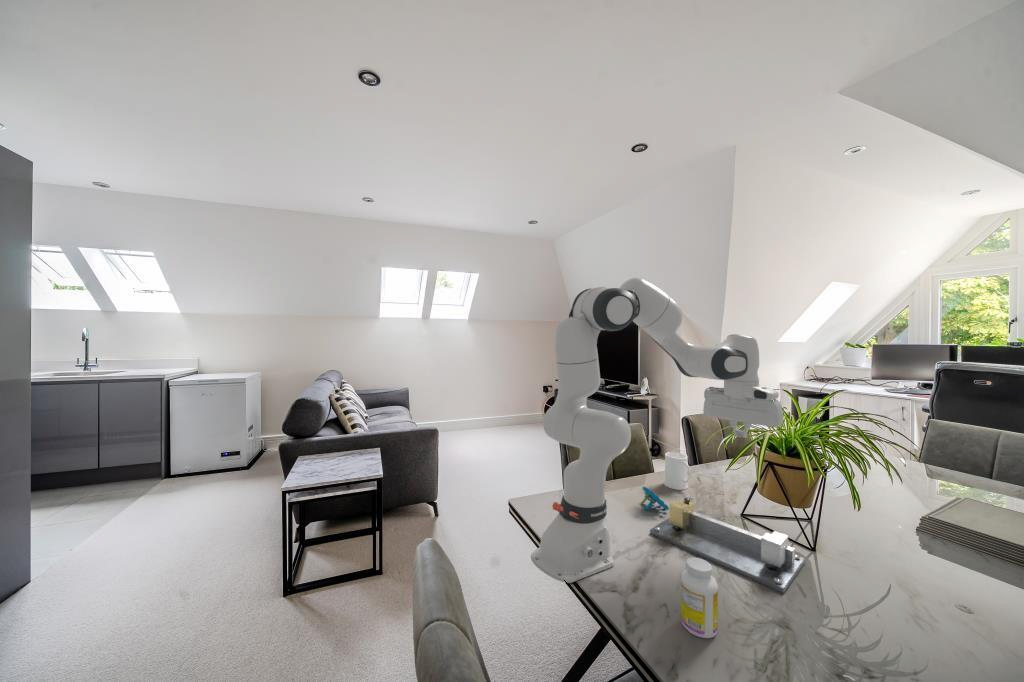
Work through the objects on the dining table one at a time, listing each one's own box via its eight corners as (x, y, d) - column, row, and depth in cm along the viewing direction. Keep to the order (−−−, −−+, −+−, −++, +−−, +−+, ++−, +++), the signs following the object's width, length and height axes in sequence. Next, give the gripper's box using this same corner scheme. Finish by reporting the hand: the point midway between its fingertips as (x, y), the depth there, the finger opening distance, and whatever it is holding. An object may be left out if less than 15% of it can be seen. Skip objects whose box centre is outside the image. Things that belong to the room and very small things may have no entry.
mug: (698, 492, 139) (699, 460, 139) (679, 494, 137) (679, 462, 137) (678, 480, 151) (678, 451, 151) (659, 482, 149) (659, 452, 149)
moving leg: (682, 533, 108) (682, 508, 107) (669, 527, 111) (669, 503, 111) (695, 523, 113) (695, 499, 113) (682, 518, 116) (682, 495, 116)
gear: (675, 511, 121) (653, 489, 121) (664, 525, 120) (642, 503, 120) (659, 500, 132) (639, 480, 132) (648, 513, 131) (628, 493, 131)
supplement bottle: (705, 614, 78) (706, 553, 78) (724, 639, 72) (725, 574, 71) (674, 614, 78) (675, 554, 78) (690, 640, 71) (691, 574, 71)
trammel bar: (784, 577, 89) (785, 546, 88) (661, 525, 112) (662, 501, 112) (795, 563, 94) (795, 534, 94) (675, 516, 118) (675, 494, 118)
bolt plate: (783, 593, 85) (783, 585, 85) (650, 533, 110) (650, 527, 110) (804, 562, 96) (804, 556, 96) (679, 515, 122) (679, 509, 121)
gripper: (699, 386, 115) (699, 431, 115) (778, 395, 99) (777, 446, 99) (708, 385, 119) (708, 428, 119) (785, 392, 103) (784, 442, 103)
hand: (740, 436), depth 109 cm, fingers closed
